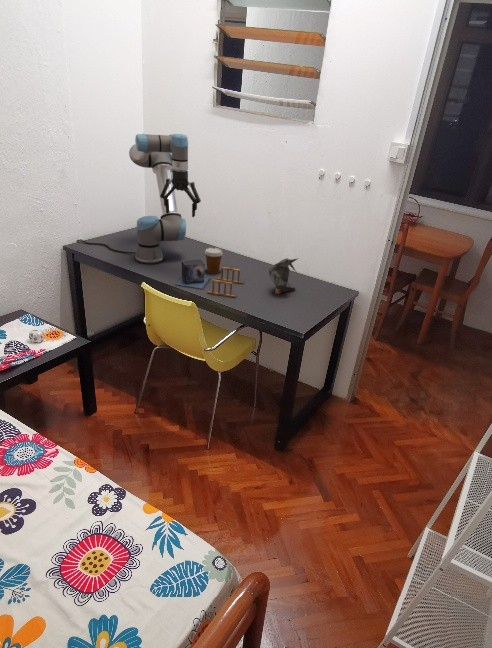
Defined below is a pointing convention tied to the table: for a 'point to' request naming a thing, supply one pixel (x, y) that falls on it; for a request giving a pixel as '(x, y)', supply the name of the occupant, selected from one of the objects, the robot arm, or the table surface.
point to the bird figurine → (281, 275)
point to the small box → (193, 271)
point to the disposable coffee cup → (213, 259)
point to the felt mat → (193, 284)
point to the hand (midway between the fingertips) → (180, 214)
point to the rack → (225, 282)
